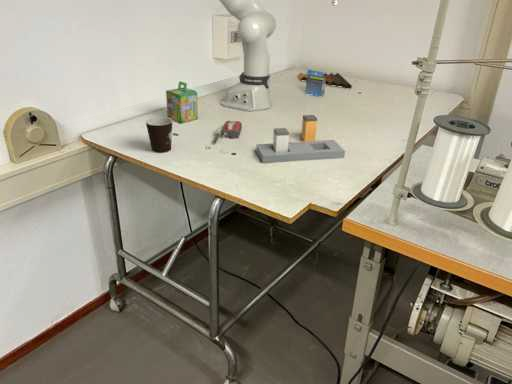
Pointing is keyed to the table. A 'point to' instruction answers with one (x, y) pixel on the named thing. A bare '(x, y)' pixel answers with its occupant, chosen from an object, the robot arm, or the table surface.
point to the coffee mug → (160, 133)
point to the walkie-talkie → (229, 130)
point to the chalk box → (182, 104)
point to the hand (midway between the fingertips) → (334, 2)
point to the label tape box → (315, 83)
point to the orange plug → (309, 128)
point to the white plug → (280, 140)
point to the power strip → (301, 151)
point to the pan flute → (330, 79)
